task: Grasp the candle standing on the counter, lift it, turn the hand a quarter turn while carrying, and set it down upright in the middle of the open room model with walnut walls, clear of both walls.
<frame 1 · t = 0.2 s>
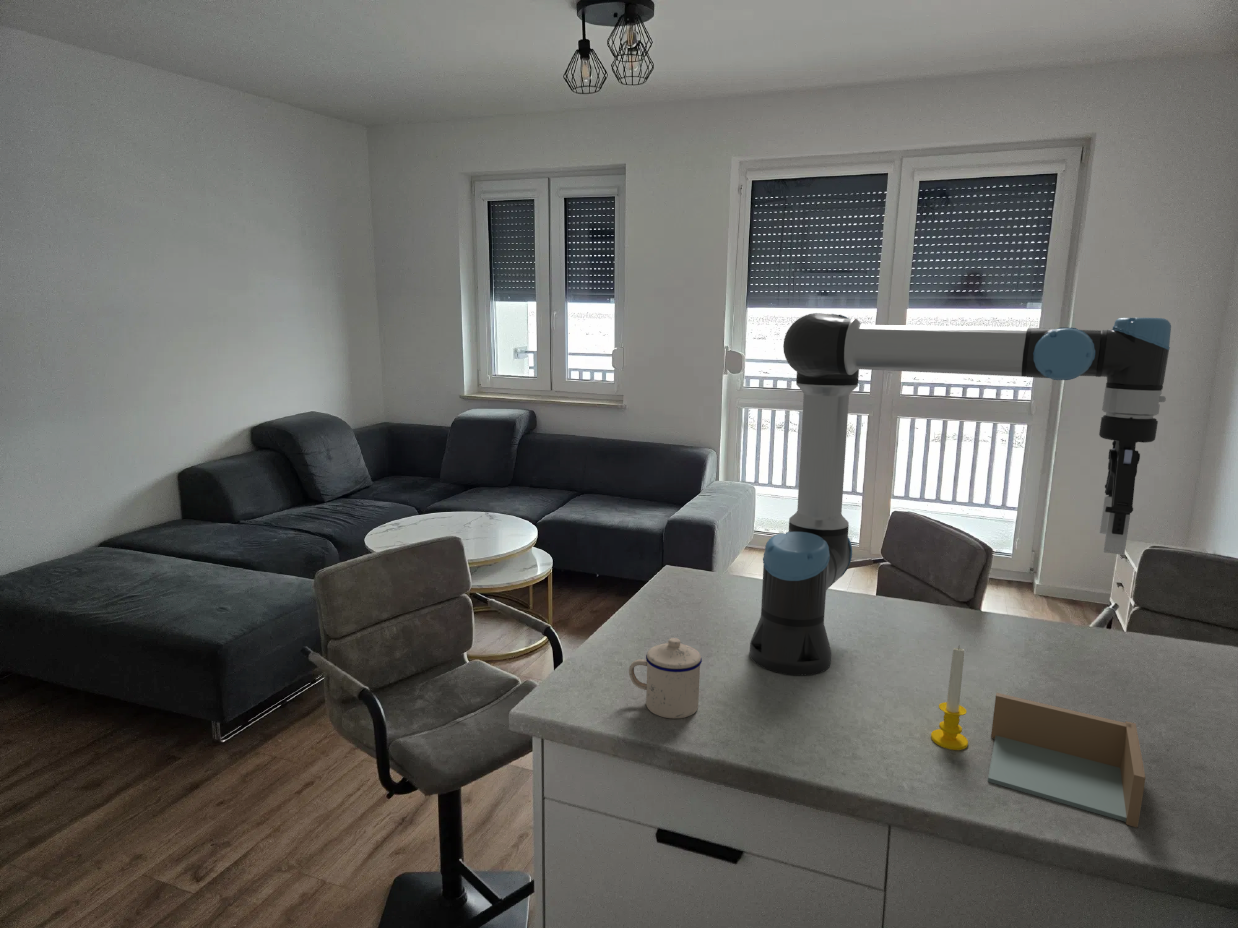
hand: (1111, 543, 122), 28 cm above the kitchen island, fingers open, 13 cm apart
open room model: (1054, 776, 104), on the kitchen island
teacup with lid: (663, 705, 122), on the kitchen island
candle: (949, 741, 113), on the kitchen island
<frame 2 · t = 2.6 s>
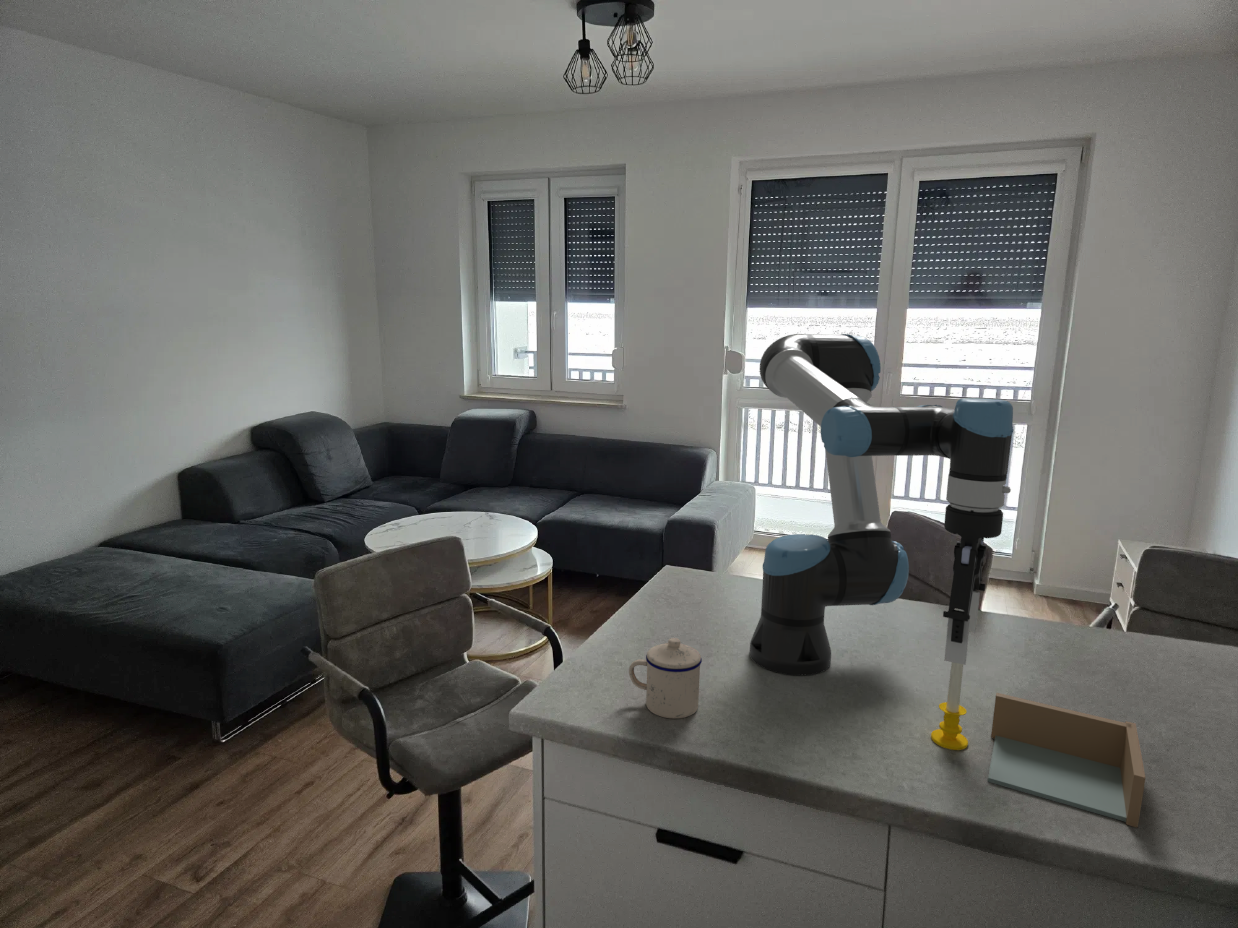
hand: (960, 645, 110), 16 cm above the kitchen island, fingers open, 13 cm apart
nothing on the kitchen island moved.
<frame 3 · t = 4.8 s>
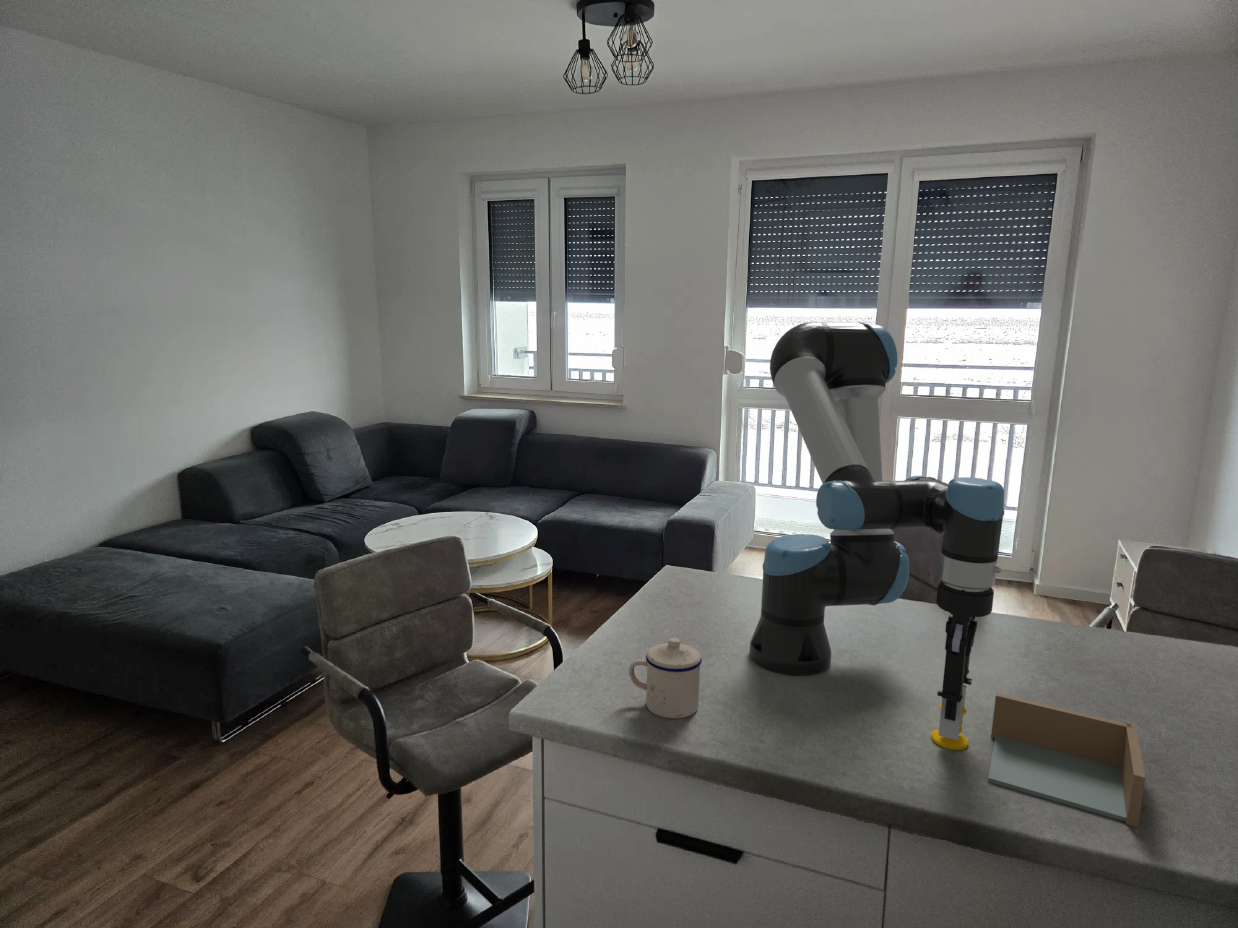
hand: (950, 729, 112), 2 cm above the kitchen island, fingers closed on candle, 4 cm apart
candle: (949, 741, 113), on the kitchen island, touching gripper
everything else where it was.
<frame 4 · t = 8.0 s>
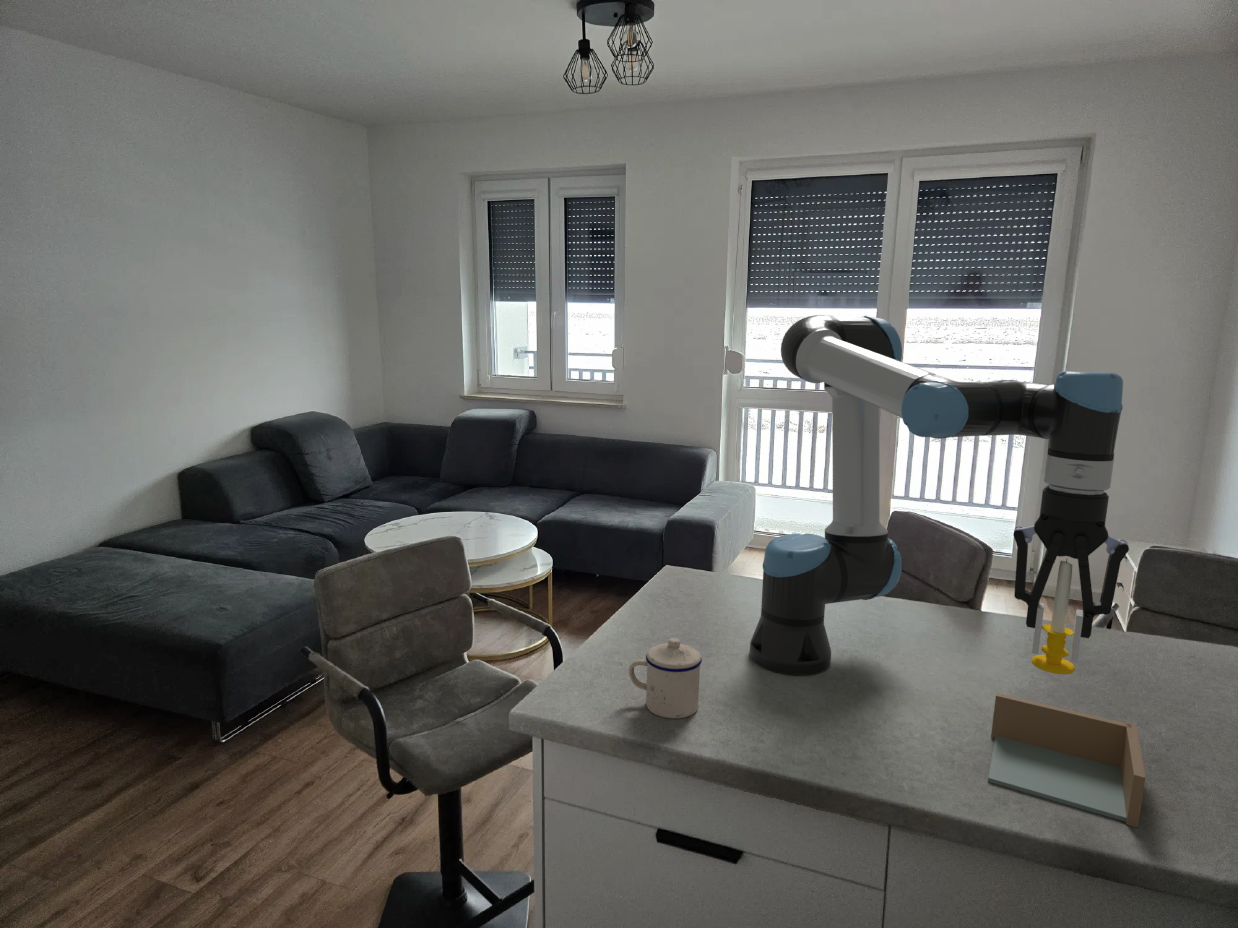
hand: (1054, 653, 102), 18 cm above the kitchen island, fingers closed on candle, 4 cm apart
candle: (1052, 667, 102), point 16 cm above the kitchen island, touching gripper
everything else where it was.
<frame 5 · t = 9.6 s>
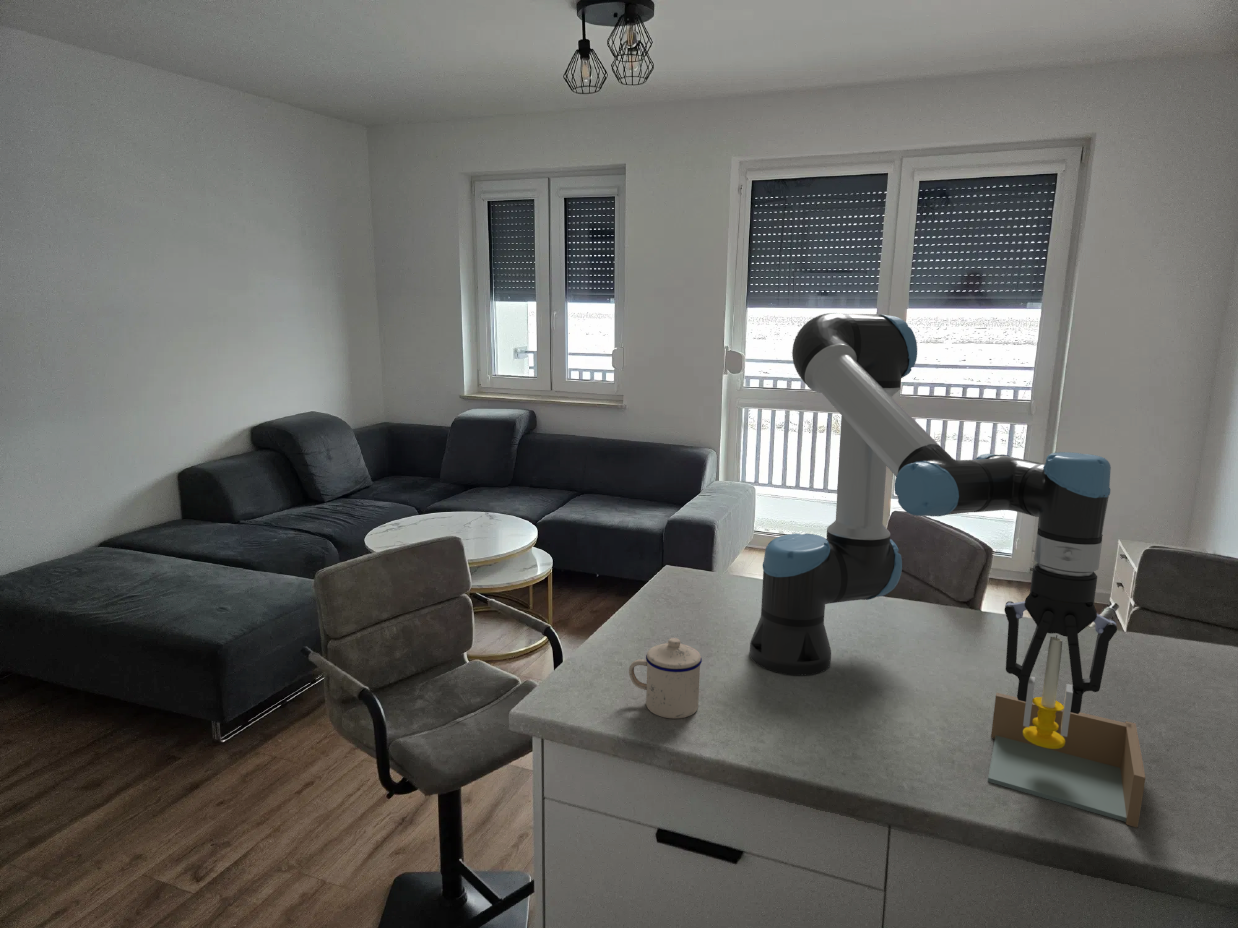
hand: (1045, 726, 104), 7 cm above the kitchen island, fingers closed on candle, 4 cm apart
candle: (1043, 740, 104), point 5 cm above the kitchen island, touching gripper
everything else where it was.
when the fingers open (4 cm above the kitchen island, at t = 11.0 s): candle drops 1 cm, resting on open room model.
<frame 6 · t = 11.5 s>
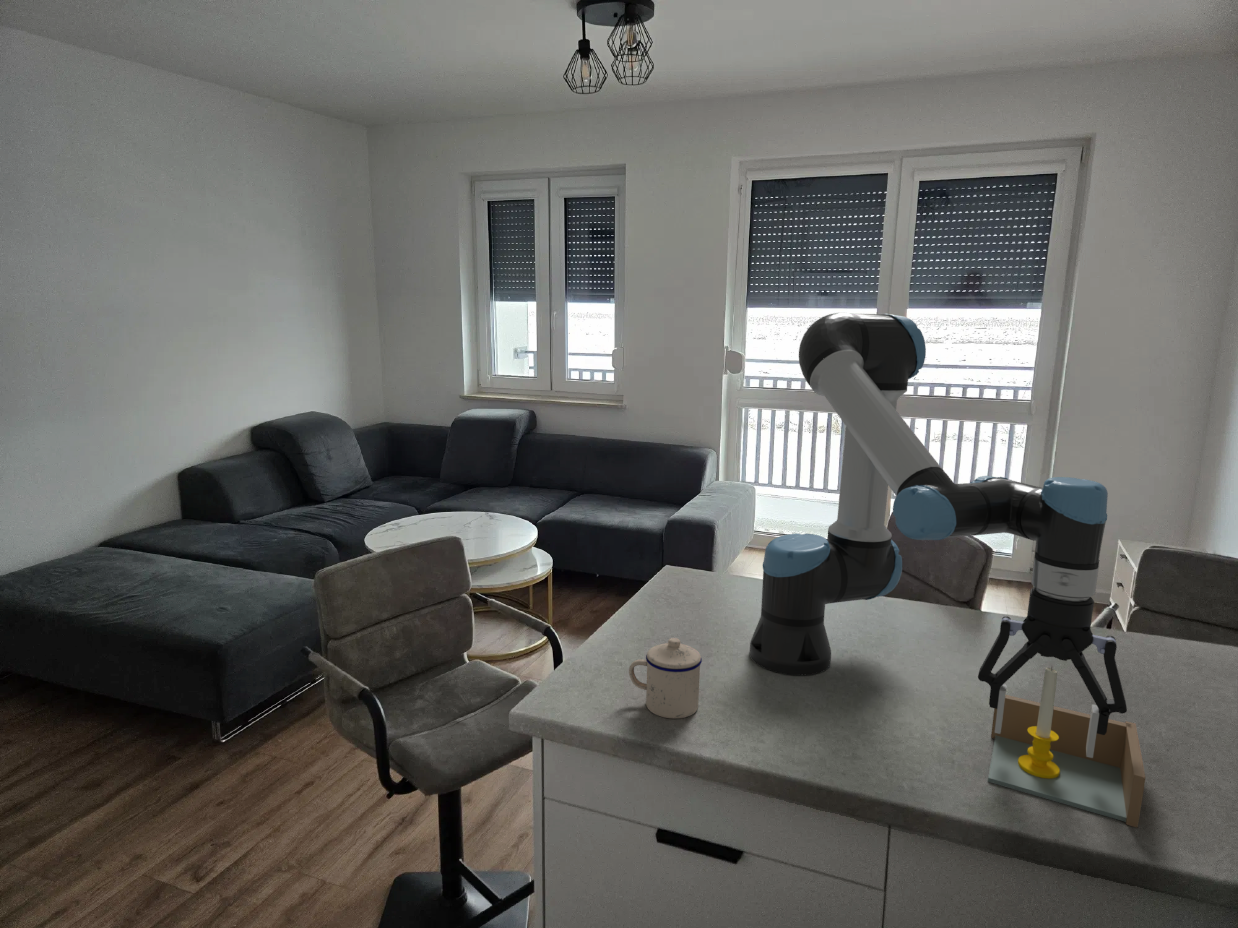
hand: (1042, 740, 104), 5 cm above the kitchen island, fingers open, 10 cm apart
candle: (1038, 769, 105), resting on open room model
everything else where it was.
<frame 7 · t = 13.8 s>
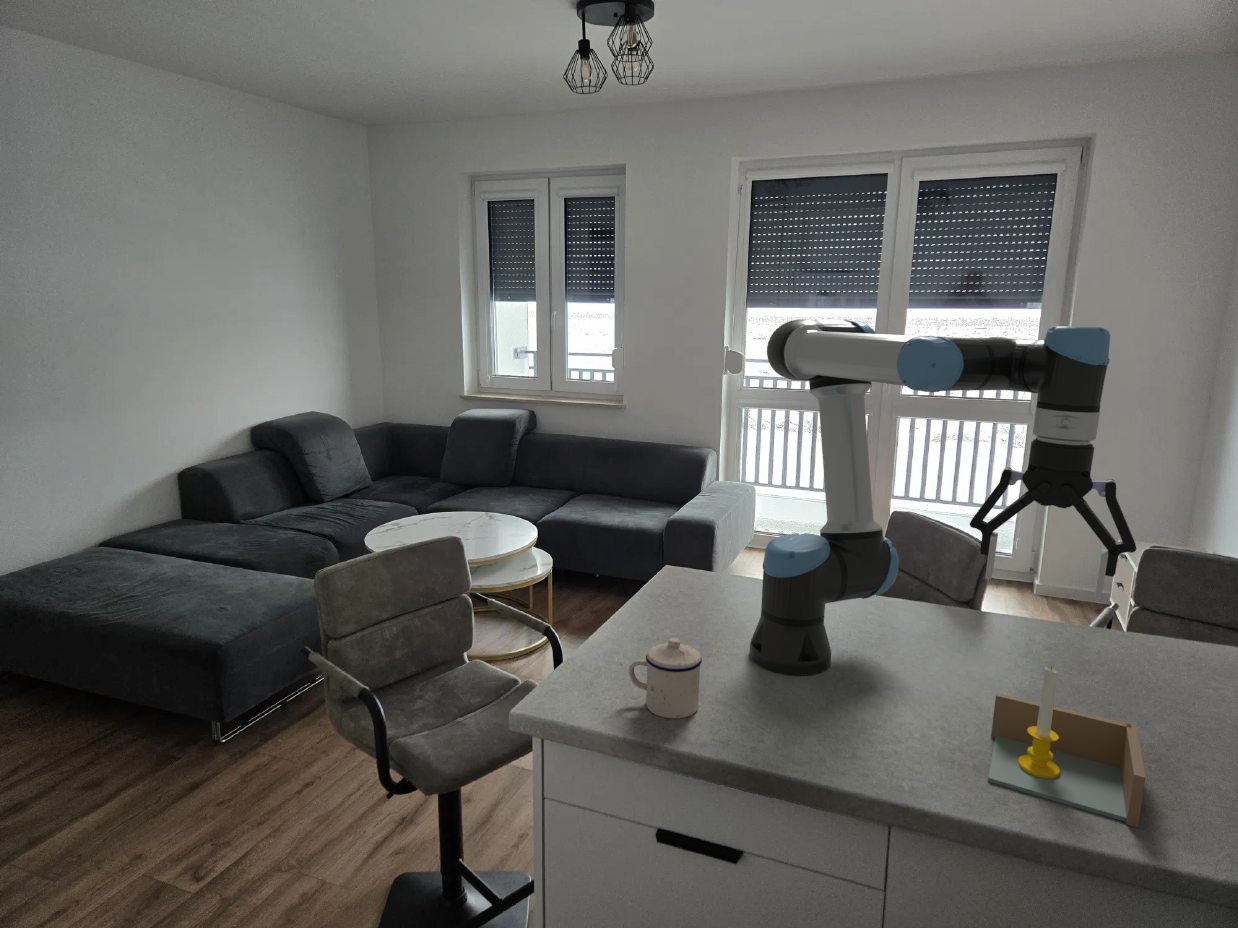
hand: (1041, 586, 106), 26 cm above the kitchen island, fingers open, 13 cm apart
nothing on the kitchen island moved.
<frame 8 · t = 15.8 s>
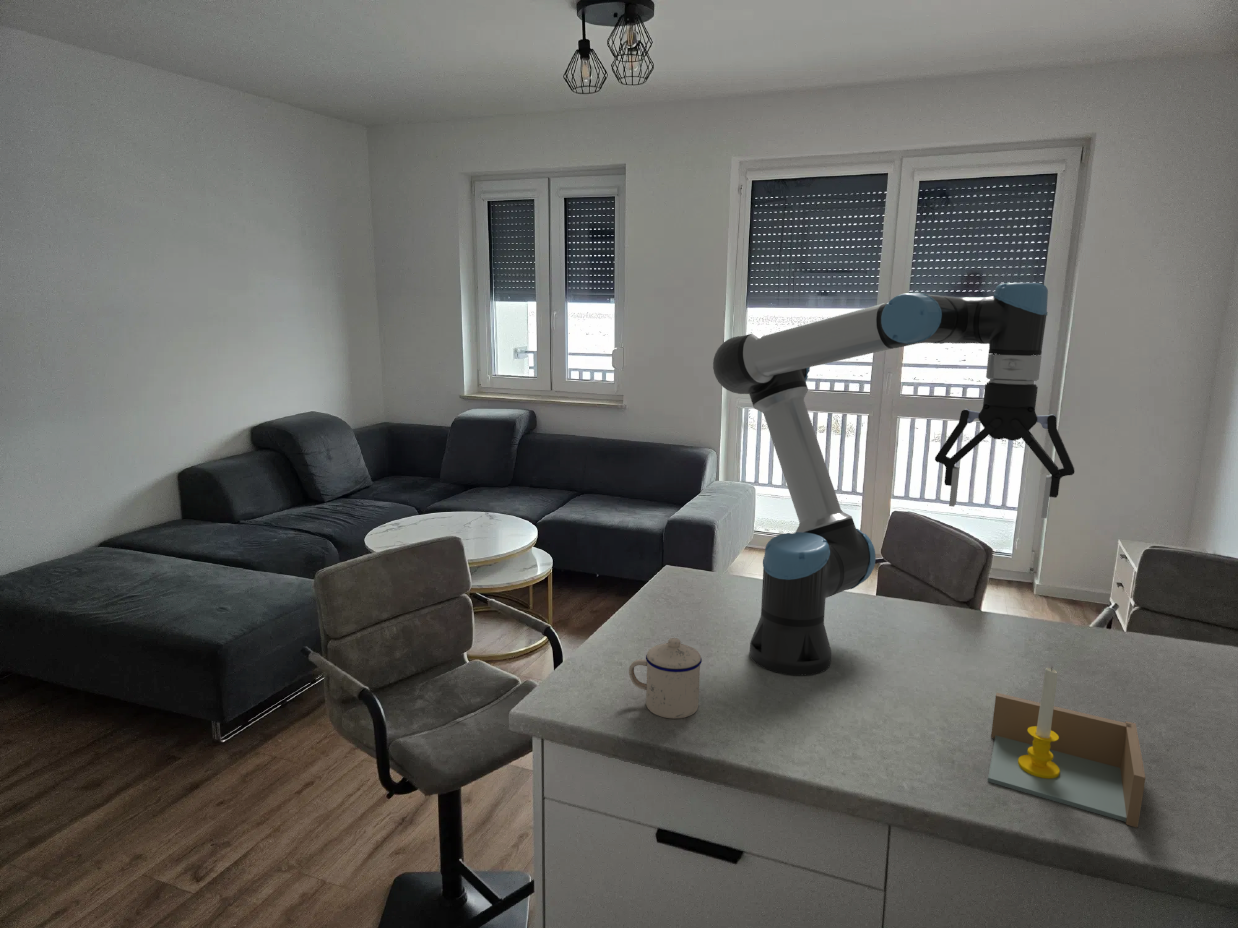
hand: (996, 510, 122), 33 cm above the kitchen island, fingers open, 13 cm apart
nothing on the kitchen island moved.
at the end: candle inside the target area on the open room model (1.8 cm from its centre), point 0.4 cm above the open room model's base; candle tilted 0°; the gripper is holding nothing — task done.
